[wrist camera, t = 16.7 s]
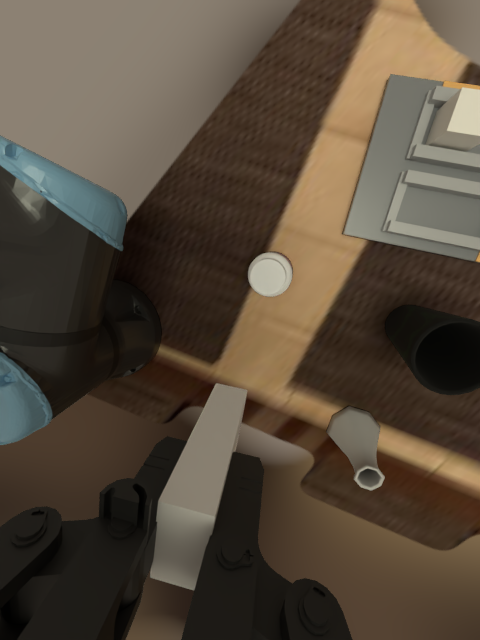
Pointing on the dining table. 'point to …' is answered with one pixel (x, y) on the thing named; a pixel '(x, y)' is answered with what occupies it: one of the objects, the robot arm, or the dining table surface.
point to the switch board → (417, 177)
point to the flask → (358, 444)
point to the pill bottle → (270, 274)
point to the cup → (437, 348)
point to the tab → (457, 122)
